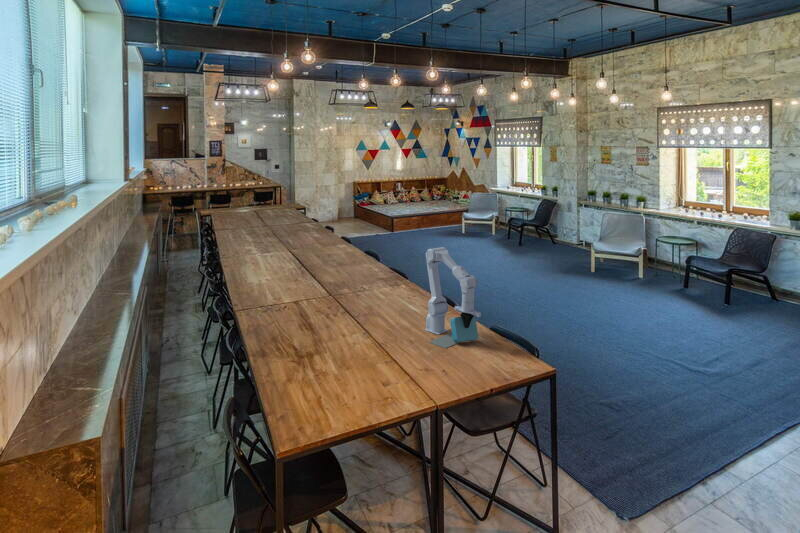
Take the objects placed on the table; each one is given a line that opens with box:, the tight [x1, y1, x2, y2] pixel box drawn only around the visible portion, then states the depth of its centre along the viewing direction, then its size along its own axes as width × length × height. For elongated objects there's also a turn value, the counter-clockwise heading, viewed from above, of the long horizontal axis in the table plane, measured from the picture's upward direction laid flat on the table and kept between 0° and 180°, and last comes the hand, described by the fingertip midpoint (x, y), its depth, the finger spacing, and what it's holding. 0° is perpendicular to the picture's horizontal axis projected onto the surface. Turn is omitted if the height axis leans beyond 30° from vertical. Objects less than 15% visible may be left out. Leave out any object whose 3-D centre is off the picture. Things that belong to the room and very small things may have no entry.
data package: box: [449, 316, 479, 343], centre depth 246 cm, size 12×4×12 cm, turn 111°
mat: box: [428, 332, 460, 349], centre depth 251 cm, size 11×24×1 cm, turn 136°
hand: (466, 327), depth 243 cm, fingers closed
